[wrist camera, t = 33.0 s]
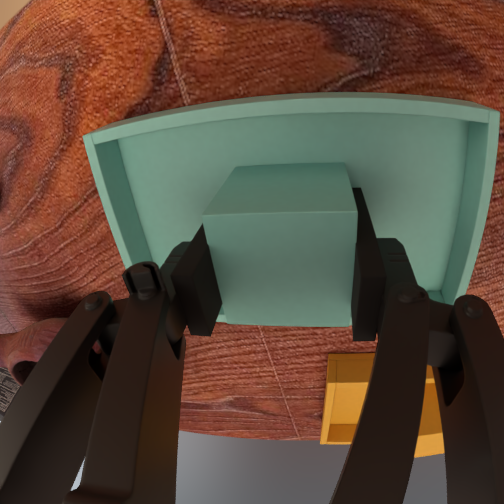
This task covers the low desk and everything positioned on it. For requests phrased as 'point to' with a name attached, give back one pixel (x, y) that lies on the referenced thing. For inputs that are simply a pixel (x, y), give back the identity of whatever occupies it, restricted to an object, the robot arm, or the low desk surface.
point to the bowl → (28, 347)
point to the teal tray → (309, 151)
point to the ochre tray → (347, 395)
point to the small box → (7, 390)
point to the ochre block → (430, 425)
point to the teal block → (284, 244)
